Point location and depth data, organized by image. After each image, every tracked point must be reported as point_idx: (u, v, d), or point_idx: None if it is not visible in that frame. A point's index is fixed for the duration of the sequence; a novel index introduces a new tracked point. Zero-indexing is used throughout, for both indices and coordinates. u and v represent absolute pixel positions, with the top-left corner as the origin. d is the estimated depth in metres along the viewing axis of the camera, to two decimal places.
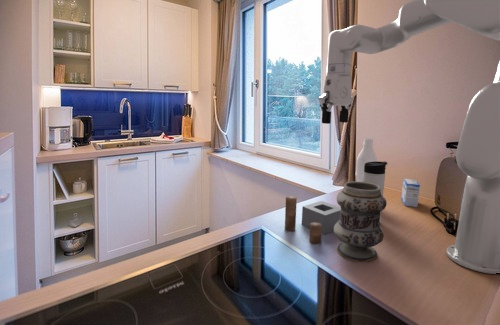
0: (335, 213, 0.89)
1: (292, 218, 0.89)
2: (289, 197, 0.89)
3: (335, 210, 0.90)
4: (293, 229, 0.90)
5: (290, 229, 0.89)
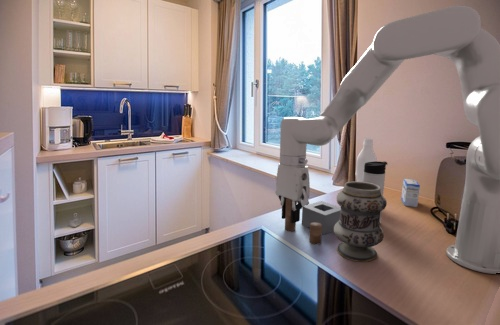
0: (335, 213, 0.89)
1: None
2: None
3: (335, 210, 0.90)
4: (293, 229, 0.90)
5: (290, 229, 0.89)
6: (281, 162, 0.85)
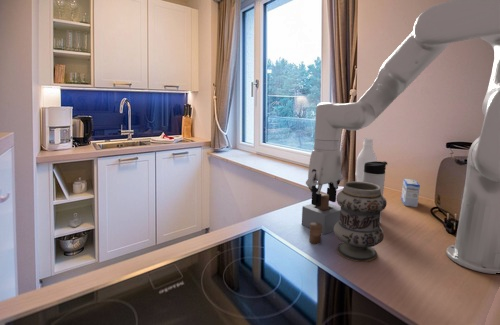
0: (335, 213, 0.89)
1: None
2: (323, 195, 0.91)
3: (335, 210, 0.90)
4: None
5: None
6: (335, 148, 0.85)
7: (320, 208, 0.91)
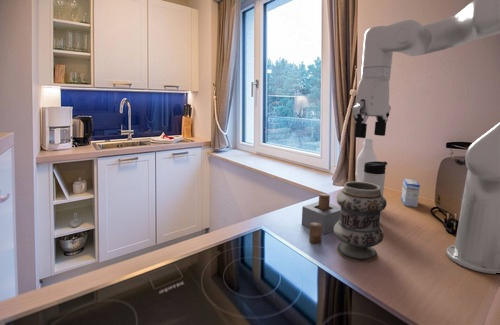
0: (335, 213, 0.89)
1: None
2: (323, 195, 0.91)
3: (335, 210, 0.90)
4: None
5: None
6: (386, 75, 0.80)
7: (321, 208, 0.91)
